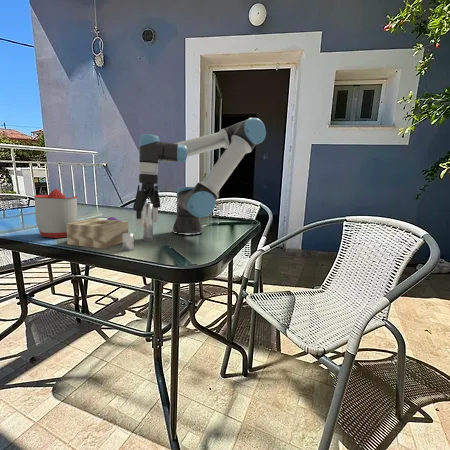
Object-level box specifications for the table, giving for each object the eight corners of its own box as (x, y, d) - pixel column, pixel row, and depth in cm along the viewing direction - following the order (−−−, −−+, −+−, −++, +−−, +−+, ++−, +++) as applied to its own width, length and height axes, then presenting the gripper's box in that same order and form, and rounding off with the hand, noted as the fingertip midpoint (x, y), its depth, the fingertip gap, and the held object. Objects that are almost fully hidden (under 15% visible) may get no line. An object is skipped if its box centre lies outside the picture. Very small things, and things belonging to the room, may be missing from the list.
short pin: (135, 248, 101) (135, 233, 100) (130, 251, 98) (130, 235, 97) (126, 247, 102) (126, 232, 101) (120, 250, 98) (120, 234, 97)
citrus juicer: (89, 233, 122) (88, 189, 119) (56, 241, 106) (54, 190, 102) (62, 230, 126) (60, 187, 123) (26, 236, 110) (23, 187, 106)
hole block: (128, 239, 115) (128, 221, 113) (105, 248, 99) (105, 227, 98) (94, 236, 117) (94, 218, 116) (67, 244, 102) (66, 223, 101)
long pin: (154, 240, 117) (154, 203, 114) (150, 242, 113) (150, 204, 110) (145, 239, 118) (146, 203, 115) (141, 241, 114) (141, 203, 111)
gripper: (153, 174, 123) (152, 219, 127) (123, 171, 99) (123, 227, 103) (168, 175, 122) (167, 221, 126) (142, 173, 98) (141, 229, 101)
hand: (147, 224), depth 114 cm, fingers open, 13 cm apart
